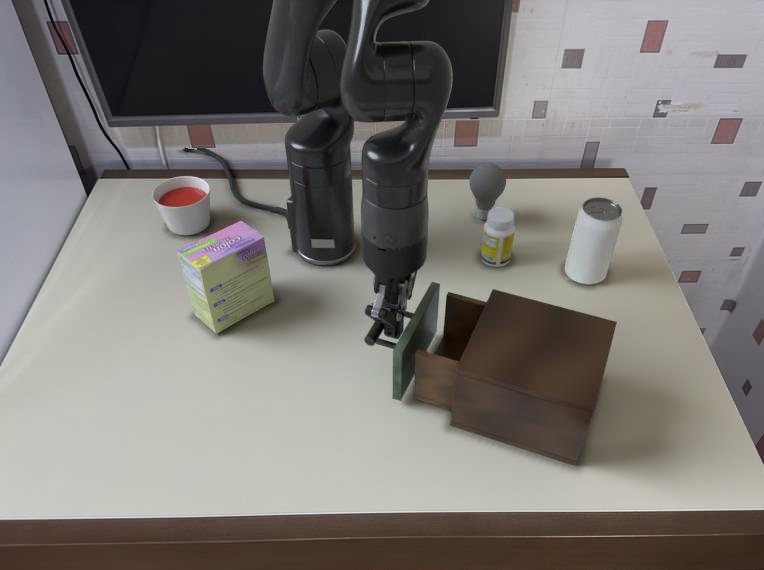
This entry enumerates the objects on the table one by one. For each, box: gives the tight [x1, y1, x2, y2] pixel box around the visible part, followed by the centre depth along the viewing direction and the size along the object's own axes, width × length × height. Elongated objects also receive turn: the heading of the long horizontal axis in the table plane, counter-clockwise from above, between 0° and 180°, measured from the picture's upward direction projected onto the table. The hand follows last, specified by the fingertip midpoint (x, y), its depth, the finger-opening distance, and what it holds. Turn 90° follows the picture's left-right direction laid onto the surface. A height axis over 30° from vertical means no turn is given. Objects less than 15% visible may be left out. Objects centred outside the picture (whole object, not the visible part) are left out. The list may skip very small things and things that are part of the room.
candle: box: [151, 175, 211, 236], centre depth 110 cm, size 9×9×6 cm
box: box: [176, 220, 276, 335], centre depth 94 cm, size 10×6×12 cm, turn 135°
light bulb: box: [468, 162, 507, 221], centre depth 112 cm, size 6×6×10 cm
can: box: [564, 196, 623, 286], centre depth 101 cm, size 6×6×12 cm
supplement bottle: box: [480, 206, 516, 268], centre depth 105 cm, size 5×5×8 cm
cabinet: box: [449, 288, 618, 467], centre depth 83 cm, size 16×15×11 cm
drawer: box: [363, 281, 487, 411], centre depth 86 cm, size 20×14×9 cm
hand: (393, 334), depth 88 cm, fingers closed
